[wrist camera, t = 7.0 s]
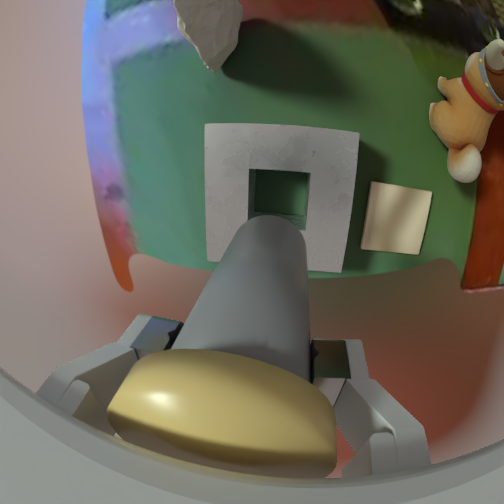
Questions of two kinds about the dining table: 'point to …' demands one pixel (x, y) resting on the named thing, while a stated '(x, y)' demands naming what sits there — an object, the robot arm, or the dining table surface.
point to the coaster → (395, 218)
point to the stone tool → (210, 27)
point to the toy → (469, 110)
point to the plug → (238, 369)
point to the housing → (287, 159)
